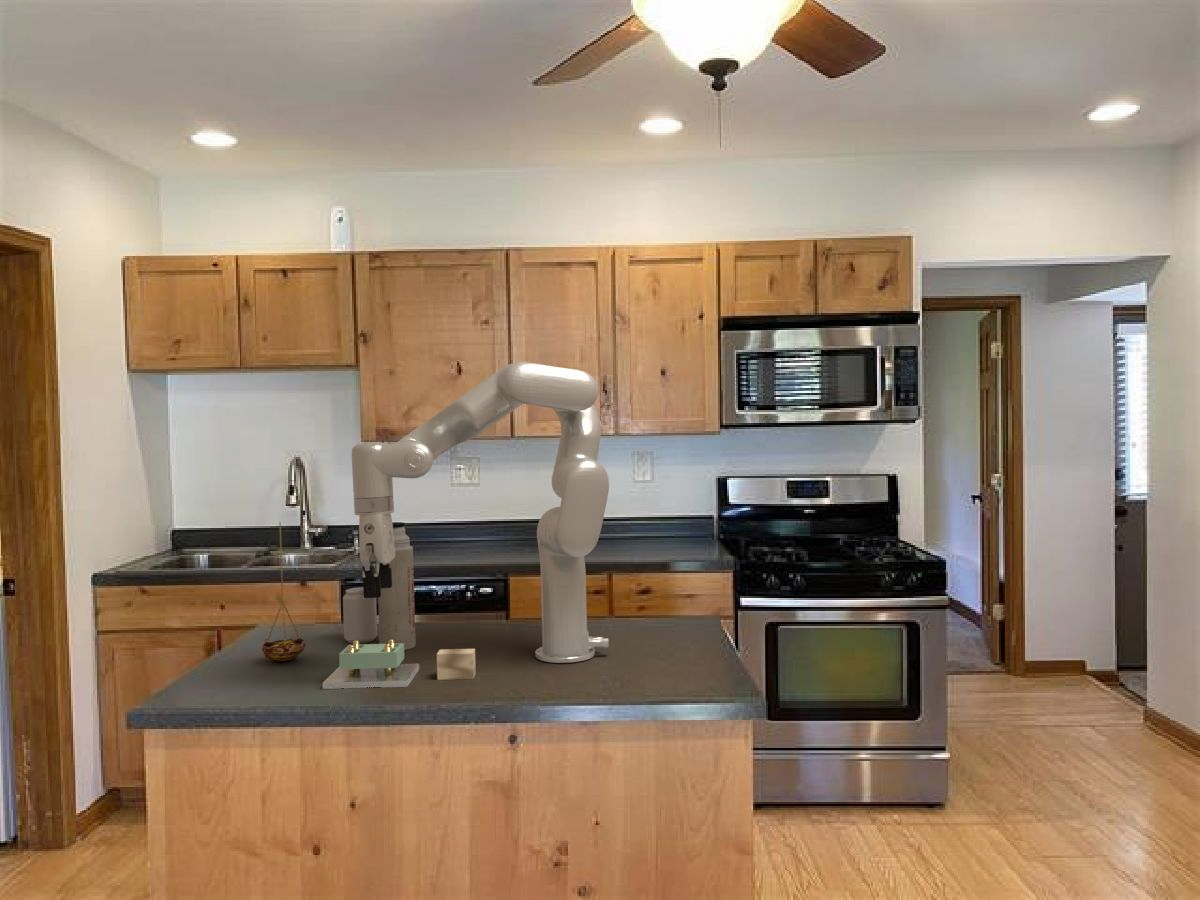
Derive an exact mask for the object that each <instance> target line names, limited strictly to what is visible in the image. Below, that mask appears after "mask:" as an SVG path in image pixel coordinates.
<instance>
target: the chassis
mask: <svg viewBox="0 0 1200 900" xmlns="http://www.w3.org/2000/svg"><path fill="white" fill-rule="evenodd" d="M359 644H360V643H359V641H358V640H355V641H354V642H353V643H352V644H348V645H349V647H348V653H355V648H359ZM391 647H395V641H394V640H393V639H390V640H389V642H388V644H386V645H385V646H384V652H391ZM419 670H420V663H400V664H399V666H398V667H397V668H367V669H340V665H339V666H338V667H337V668H336V669H335V670H334V671H332V673H330V675H329V676H328V677H326V679H325V680H324V681H323V682H322V689H323V690H332V689H333V690H338V689H341V688H344V689H370V688H371V687H372V688H371V689H373V687H381V688H407V687H409V685H410V684H411V682H412V681H413V679H414V678H415V676H416V675H417V673H418V672H419ZM367 687H368V688H367ZM369 687H370V688H369Z"/></svg>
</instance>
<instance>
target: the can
mask: <svg viewBox="0 0 1200 900" xmlns="http://www.w3.org/2000/svg"><path fill="white" fill-rule="evenodd" d="M342 610H343V611H342V613H343V614H342V615H343V639H345V641H347V642H348V643H350V644H353V642H354V641H355V640H358V641H359V644H367V643H370V642H373V641H374V640H375V639H376V638H377V637H378V621H377V620H378V619H377V618H378V617H377V613H378V612H377V611H378V610H377V598H364V593H363V586H362V587H352V588H349V589H346V590H345V594H344V595H343V596H342Z"/></svg>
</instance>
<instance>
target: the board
mask: <svg viewBox="0 0 1200 900" xmlns="http://www.w3.org/2000/svg"><path fill="white" fill-rule="evenodd" d="M349 645H350V644H348V645H347V646H346V647H345V648H344V649H343V650H341V652H340V653H338V657H339V658H338V659H339V663H338V664H339V666H340V669H367V668H397V667H398V666H399V664H402V662H403V661H404V659H405V650H404V643H397V644H395V647H391V652H384V646H385V645H386V644H379V643H368V644H367V643H359V648H355V653H348V647H349Z"/></svg>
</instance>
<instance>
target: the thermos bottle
mask: <svg viewBox="0 0 1200 900" xmlns="http://www.w3.org/2000/svg"><path fill="white" fill-rule="evenodd" d="M392 524H393V533H394V544H395V558H394V559H393V560H392V561H391V567H390V568H391V571H392V587H391V588H381V597H379V598H377V604H378V644H388V642H389V640H390V639H393V640H394V641H395V644H397V643H404V651H406V650H410V649H413V648H414V647H416V613H415V612H416V610H415V609H416V608H415V607H416V606H415V581H414V580H415V578H414V577H415V576H414V571H415V568H414V547H413V546H412V545H410V543H411V540H410V536H408V535H407V534H406V528H405V526H406V523H405V522H401V521H399V522H398V521H392Z"/></svg>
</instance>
